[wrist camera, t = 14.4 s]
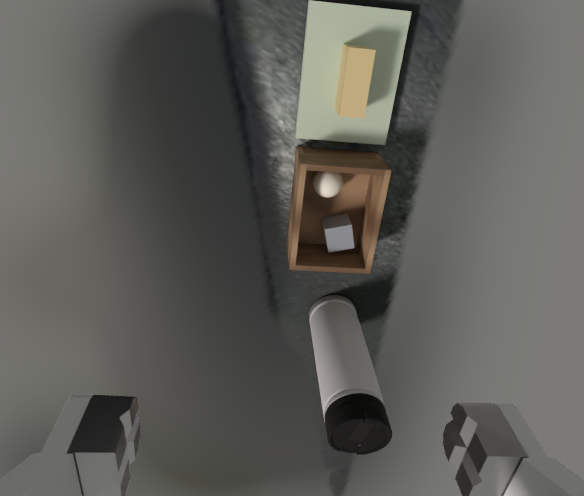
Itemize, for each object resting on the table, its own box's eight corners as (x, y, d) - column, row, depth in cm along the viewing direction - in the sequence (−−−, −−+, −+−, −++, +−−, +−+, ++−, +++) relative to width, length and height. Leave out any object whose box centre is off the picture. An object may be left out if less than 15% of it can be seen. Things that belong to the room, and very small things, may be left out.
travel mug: (363, 298, 58) (407, 424, 41) (344, 335, 61) (377, 468, 44) (319, 286, 57) (344, 412, 39) (302, 325, 60) (318, 458, 42)
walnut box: (296, 146, 48) (300, 163, 42) (377, 152, 49) (391, 170, 43) (286, 243, 53) (289, 269, 48) (359, 247, 54) (370, 273, 49)
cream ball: (313, 162, 48) (316, 172, 45) (342, 164, 48) (347, 174, 45) (309, 189, 49) (312, 201, 47) (337, 191, 50) (342, 203, 47)
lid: (307, 0, 41) (313, -1, 37) (406, 11, 42) (423, 12, 38) (294, 134, 47) (298, 147, 43) (381, 141, 48) (393, 155, 44)
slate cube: (321, 217, 51) (324, 229, 49) (347, 213, 51) (351, 224, 48) (325, 240, 53) (328, 252, 50) (350, 235, 52) (354, 248, 50)
